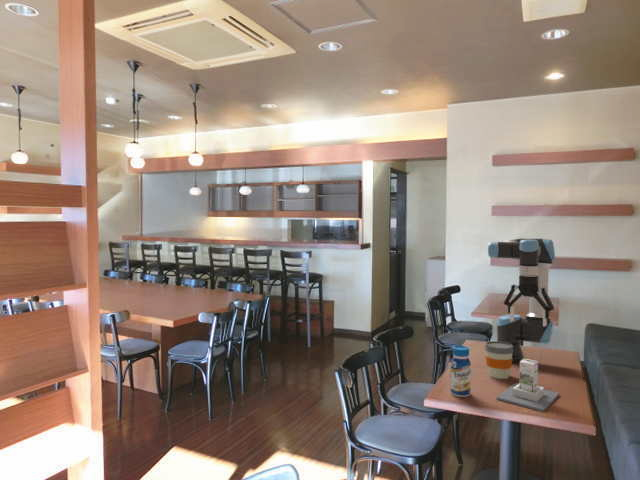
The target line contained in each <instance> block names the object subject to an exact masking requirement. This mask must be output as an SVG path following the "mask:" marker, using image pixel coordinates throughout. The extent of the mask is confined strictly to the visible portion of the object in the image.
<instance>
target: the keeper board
mask: <svg viewBox="0 0 640 480" xmlns="http://www.w3.org/2000/svg"><path fill="white" fill-rule="evenodd" d="M537 390H538V391H537V392H536V393H533V392H529V391H525V390H521V389H520V382H519V383H518V382H514V383H513V384H512V385H510V386H508V388H506V389H505V390H504V391H503V392H501V393H500V394H499V395H497V396H496V400H497V401H500V402H504V403H508V404H513V405H515V406H520V407H523V408H527V409H531V410H535V411H538V412H543V413H544V412H545V411H546V410H547V409H548V408H549V407H550V406H551V405H552V403H554V402H555V400H557V398H558V397H559V396H560V392H557V391H552V390H548V389H545V387H544V386H540V385H537Z"/></svg>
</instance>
